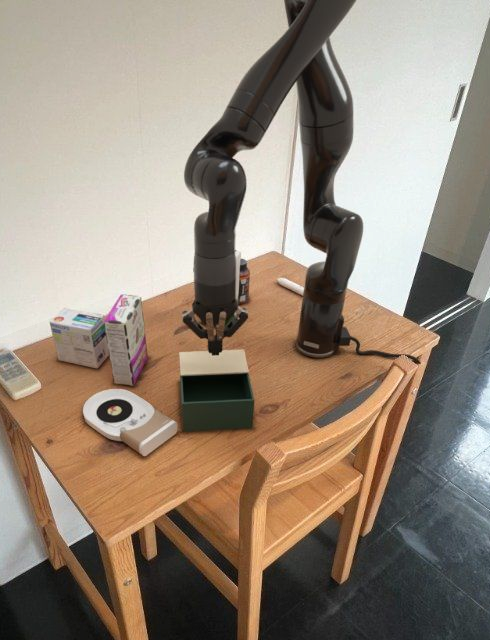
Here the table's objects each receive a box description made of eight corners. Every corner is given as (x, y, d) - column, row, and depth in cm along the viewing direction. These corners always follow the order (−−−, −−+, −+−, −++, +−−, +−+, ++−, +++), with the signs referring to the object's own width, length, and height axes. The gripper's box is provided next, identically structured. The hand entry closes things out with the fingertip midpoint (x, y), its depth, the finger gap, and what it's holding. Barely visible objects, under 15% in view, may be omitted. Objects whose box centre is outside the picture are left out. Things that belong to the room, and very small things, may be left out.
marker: (274, 283, 148) (275, 275, 147) (279, 281, 149) (280, 273, 148) (322, 307, 138) (324, 299, 136) (328, 305, 139) (329, 297, 137)
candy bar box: (128, 355, 121) (120, 293, 111) (148, 357, 121) (142, 295, 110) (112, 384, 113) (102, 320, 102) (134, 387, 112) (126, 322, 102)
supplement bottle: (248, 305, 139) (251, 266, 131) (226, 305, 139) (228, 266, 132) (247, 294, 143) (250, 256, 136) (226, 294, 143) (227, 256, 136)
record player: (136, 449, 94) (70, 402, 104) (138, 461, 96) (72, 414, 106) (181, 417, 100) (114, 376, 111) (182, 429, 102) (116, 387, 113)
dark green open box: (182, 432, 102) (181, 403, 97) (180, 382, 114) (179, 354, 109) (252, 428, 102) (254, 400, 98) (242, 379, 114) (243, 352, 110)
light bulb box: (111, 353, 122) (105, 314, 115) (98, 369, 117) (91, 329, 110) (71, 345, 125) (63, 306, 118) (57, 361, 120) (47, 321, 113)
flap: (180, 376, 103) (180, 374, 102) (179, 353, 108) (179, 352, 108) (248, 373, 103) (248, 371, 103) (243, 350, 109) (243, 349, 109)
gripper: (178, 286, 88) (182, 366, 100) (255, 282, 89) (250, 362, 100) (176, 266, 94) (181, 344, 105) (248, 262, 95) (245, 340, 106)
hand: (215, 353), depth 103 cm, fingers closed
